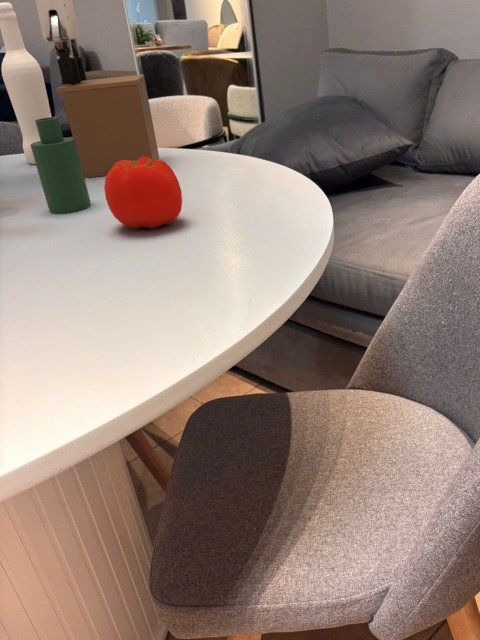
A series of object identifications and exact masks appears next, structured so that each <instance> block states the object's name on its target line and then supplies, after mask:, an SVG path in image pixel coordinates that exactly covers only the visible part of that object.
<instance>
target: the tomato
mask: <svg viewBox="0 0 480 640" xmlns="http://www.w3.org/2000/svg"><path fill="white" fill-rule="evenodd" d="M154 160H157V159H150V158H148V157H140V158H139V159H138V160H137V161H136V162H135V161H129V160H121V161H119V162H117V163H116V164H115V163H114V164H115V165H114V166H113V167H112V169H111V170H110V171H109V172H108V174H107V176H105V177H104V187H103V188H104V194H105V195H104V196H105V201H106V203H107V206H108V209H109V210H110V212H111V214H112V215H113V217H114V218H115V219H116V220H117V221H118V222H119V223H120V224H122V225H124V226H126V227H127V228H130V229H141V228H143V227H144V228H150V229H156V228H158V227H161V226H162V225H169V224H171V223H173V222H174V221H175V220H177V218H178V217H179V216H180V213H181V212H182V207H183V193H182V189H181V186H180V182H179V179H178V177H177V176H176V174H175V172H174V170H173V169H172V168H171V166H170V165H169V164H168V163H167V162H166V161H164V160H161V159H158V160H157V161H154ZM112 165H113V164H112Z"/></svg>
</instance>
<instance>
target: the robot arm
mask: <svg viewBox="0 0 480 640" xmlns="http://www.w3.org/2000/svg"><path fill="white" fill-rule="evenodd" d="M34 1H35V6H36V11H37V15H38V19H39V23H40V30H41V33H42V37H43V39H44V40H45V41H46V42H47V43H51V42H53V45H54V51H55V56H56V60H57V66H58V70H59V73H60V77H61V82H62V85H69V84H78V83H81V81H85V80H87V75H86V71H85V67H84V62H83V57H82V56H81V52H80V51H81V50H80V48H79V44H78V41H77V40H78V38H79V37H80V30H79V25H78V20H77V19H78V18H77V15H76V11H75V7H74V3H73V0H34ZM73 56H75V57H76V58H75V59H74V57H73ZM76 59H77V62H76Z"/></svg>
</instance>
